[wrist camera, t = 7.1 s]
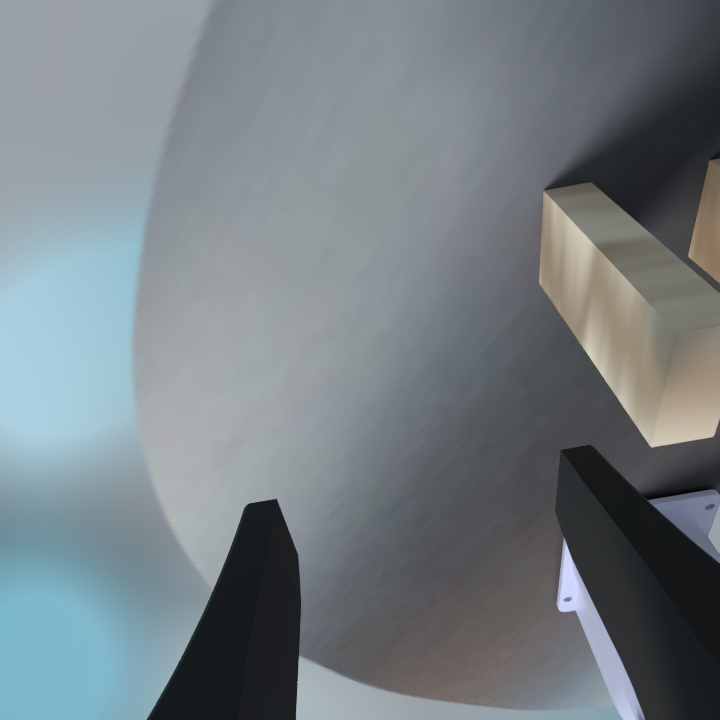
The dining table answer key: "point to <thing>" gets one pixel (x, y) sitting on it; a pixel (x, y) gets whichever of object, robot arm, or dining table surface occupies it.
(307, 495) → the dining table surface
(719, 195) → the beige wooden block
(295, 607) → the robot arm
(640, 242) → the wooden block
